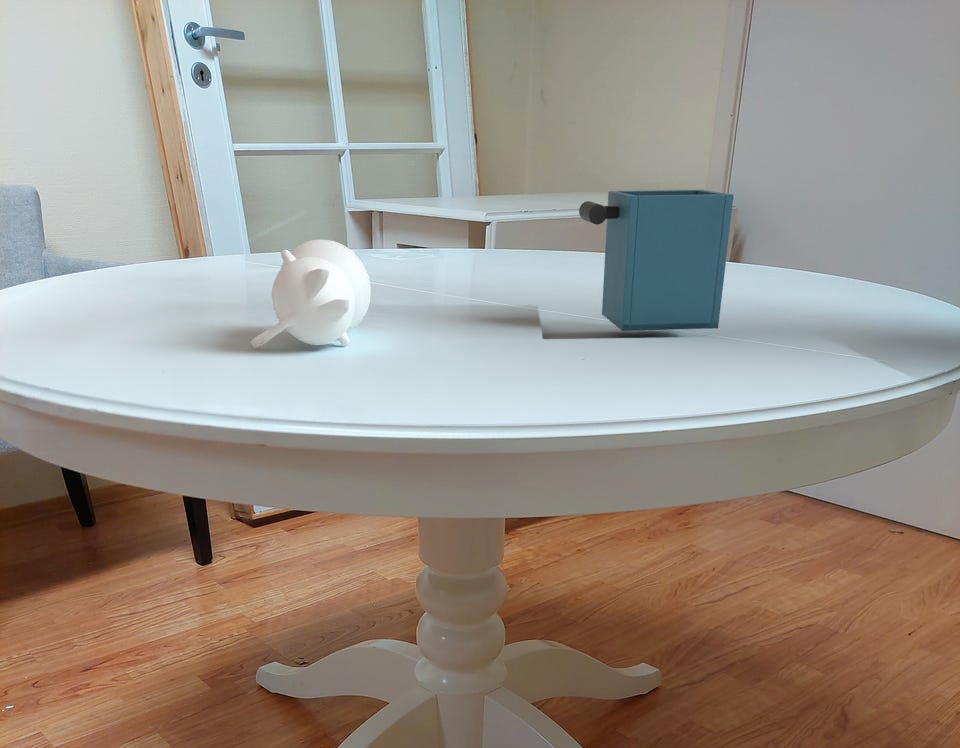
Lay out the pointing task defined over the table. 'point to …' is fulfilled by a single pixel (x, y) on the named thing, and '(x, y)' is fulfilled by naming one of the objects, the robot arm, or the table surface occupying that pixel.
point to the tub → (663, 257)
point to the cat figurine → (319, 294)
